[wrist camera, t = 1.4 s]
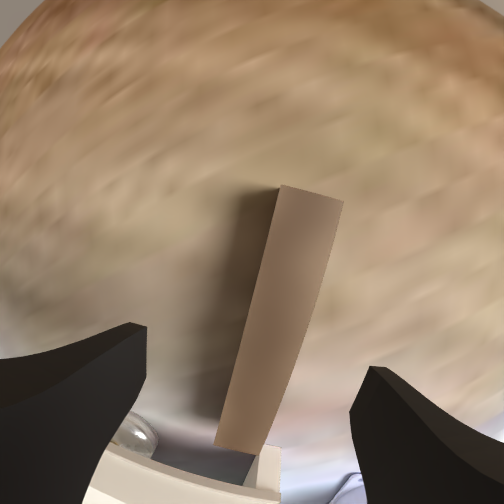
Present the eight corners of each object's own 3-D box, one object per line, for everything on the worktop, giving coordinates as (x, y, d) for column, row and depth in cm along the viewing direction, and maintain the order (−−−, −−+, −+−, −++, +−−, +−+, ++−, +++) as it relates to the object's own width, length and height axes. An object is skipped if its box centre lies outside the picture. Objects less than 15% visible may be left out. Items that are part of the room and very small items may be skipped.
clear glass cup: (161, 421, 21) (152, 437, 19) (157, 456, 22) (150, 471, 20) (106, 399, 21) (95, 411, 19) (108, 436, 22) (98, 448, 20)
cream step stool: (282, 444, 20) (278, 540, 11) (245, 514, 22) (233, 582, 13) (90, 381, 21) (25, 444, 12) (97, 464, 23) (59, 519, 14)
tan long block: (331, 201, 17) (343, 201, 14) (262, 422, 20) (258, 455, 16) (281, 188, 17) (280, 184, 14) (222, 412, 20) (213, 444, 16)
